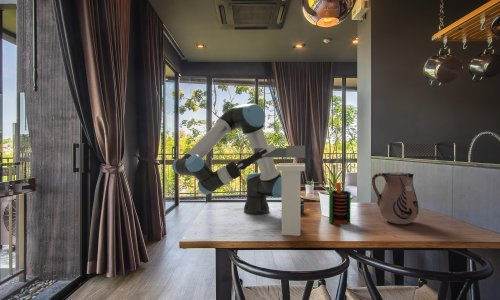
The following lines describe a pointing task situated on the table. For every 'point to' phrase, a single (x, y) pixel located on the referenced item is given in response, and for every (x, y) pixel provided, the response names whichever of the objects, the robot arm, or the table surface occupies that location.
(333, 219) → the motor
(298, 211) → the stand
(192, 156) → the robot arm
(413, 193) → the ceramic pitcher
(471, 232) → the table surface
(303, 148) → the bar
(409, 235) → the table surface
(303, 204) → the jar
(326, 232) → the table surface
